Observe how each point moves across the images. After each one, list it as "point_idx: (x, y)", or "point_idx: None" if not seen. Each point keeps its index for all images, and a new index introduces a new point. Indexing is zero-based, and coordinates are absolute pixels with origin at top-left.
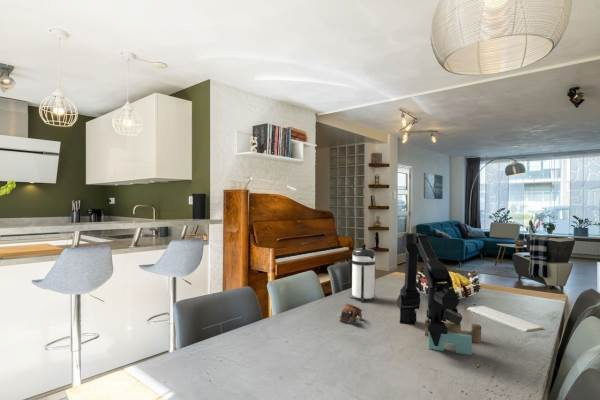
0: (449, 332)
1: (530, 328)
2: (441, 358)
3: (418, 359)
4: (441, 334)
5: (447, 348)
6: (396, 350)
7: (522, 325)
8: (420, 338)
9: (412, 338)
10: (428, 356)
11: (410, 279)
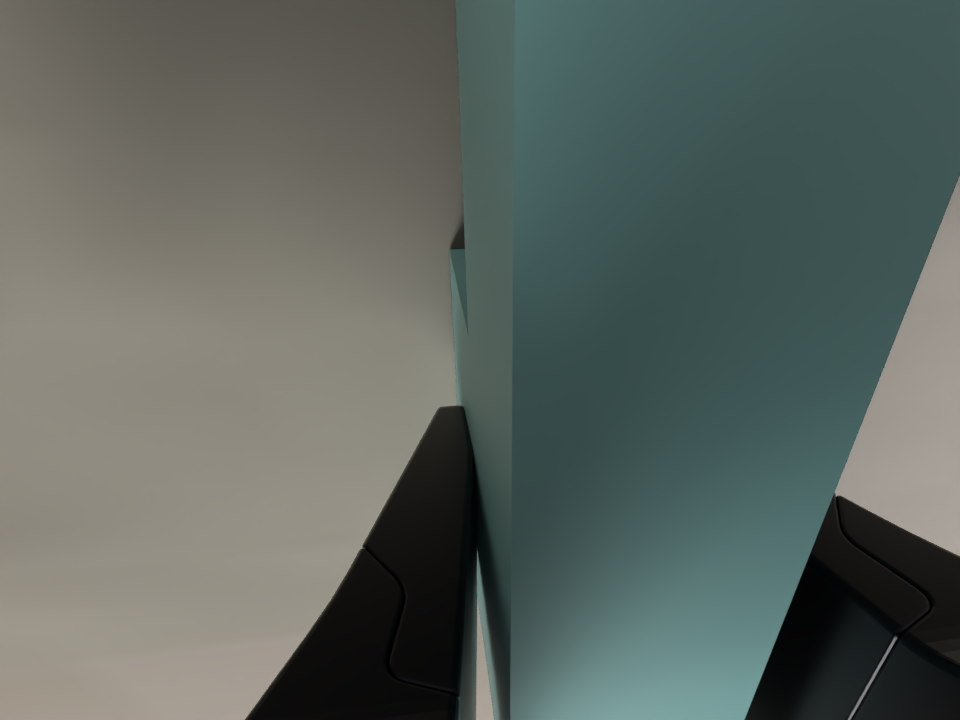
0: (505, 252)
1: None
2: (932, 272)
3: (949, 530)
4: (792, 539)
5: (410, 152)
6: None
7: None
8: (156, 602)
9: (240, 673)
10: (859, 445)
11: None
